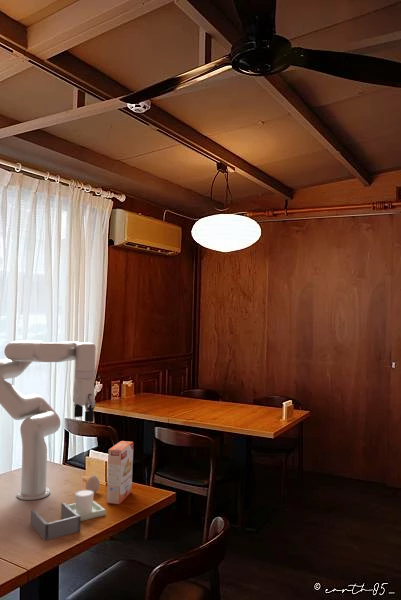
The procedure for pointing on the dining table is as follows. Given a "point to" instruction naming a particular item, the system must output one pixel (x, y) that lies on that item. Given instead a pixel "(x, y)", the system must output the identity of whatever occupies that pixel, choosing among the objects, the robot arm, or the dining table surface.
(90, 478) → the egg
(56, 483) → the dining table surface
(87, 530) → the dining table surface
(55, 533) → the bay
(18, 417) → the robot arm
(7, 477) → the dining table surface
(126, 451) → the cracker box
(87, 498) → the white cylinder
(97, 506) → the tray
